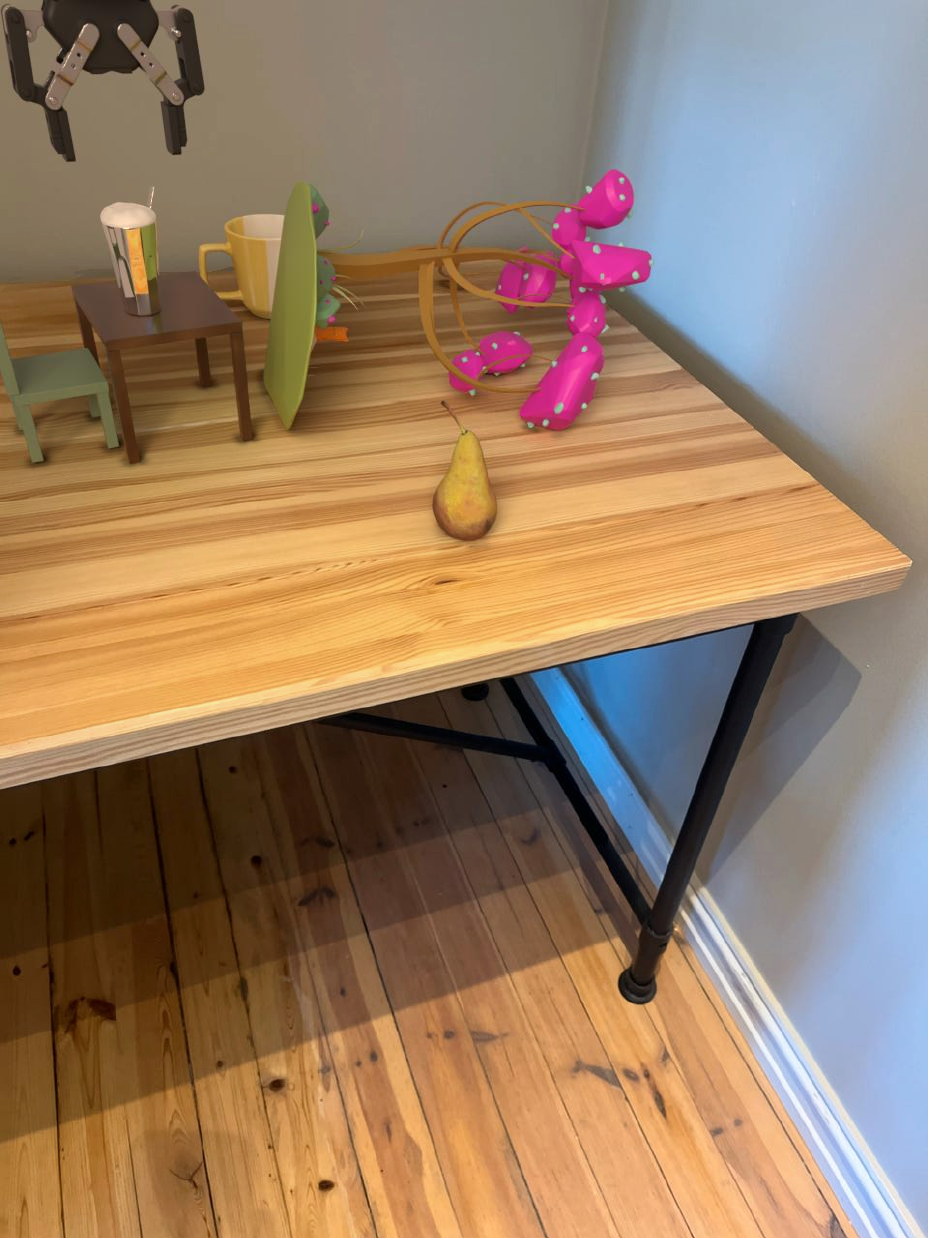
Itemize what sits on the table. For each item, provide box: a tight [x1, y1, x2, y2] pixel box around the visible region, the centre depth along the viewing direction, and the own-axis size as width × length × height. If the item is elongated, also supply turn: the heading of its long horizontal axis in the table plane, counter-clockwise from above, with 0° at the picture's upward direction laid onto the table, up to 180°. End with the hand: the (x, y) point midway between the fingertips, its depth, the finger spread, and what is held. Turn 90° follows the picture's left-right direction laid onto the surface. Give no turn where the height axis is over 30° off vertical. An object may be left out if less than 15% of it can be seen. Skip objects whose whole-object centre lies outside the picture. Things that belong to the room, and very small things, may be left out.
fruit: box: [431, 400, 498, 541], centre depth 76 cm, size 6×6×12 cm
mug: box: [198, 213, 285, 320], centre depth 112 cm, size 14×10×10 cm
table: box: [70, 270, 254, 465], centre depth 89 cm, size 12×14×12 cm
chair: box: [0, 319, 120, 464], centre depth 83 cm, size 8×8×17 cm
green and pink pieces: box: [262, 168, 655, 431], centre depth 94 cm, size 30×28×35 cm
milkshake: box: [99, 185, 162, 316], centre depth 81 cm, size 4×5×10 cm
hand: (122, 156), depth 76 cm, fingers open, 8 cm apart
